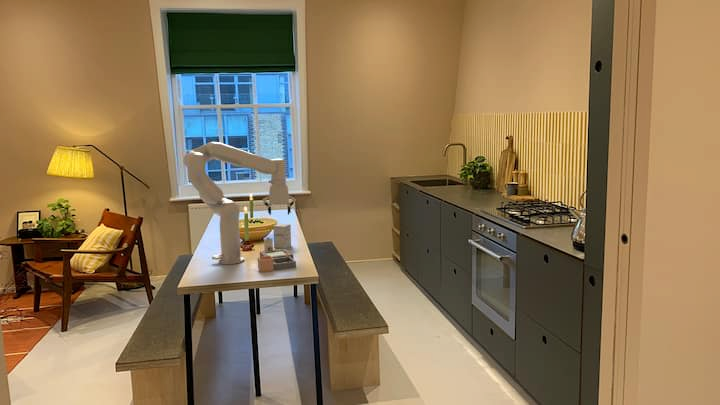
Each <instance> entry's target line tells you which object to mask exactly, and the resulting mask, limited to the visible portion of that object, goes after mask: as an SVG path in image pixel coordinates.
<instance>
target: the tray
mask: <svg viewBox="0 0 720 405" xmlns="http://www.w3.org/2000/svg"><path fill="white" fill-rule="evenodd" d="M273 261H274V270H273V271H279V270H287V269H294V268H295V269H296V268H297V261H296V260H295V258H294V259H292V258H291V257H290V256H289V257H281V258H273Z"/></svg>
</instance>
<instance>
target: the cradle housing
mask: <svg viewBox="0 0 720 405" xmlns="http://www.w3.org/2000/svg"><path fill="white" fill-rule="evenodd" d="M279 251H283V252H284V253H285V255H277V256H271V257H272V258H281V257H289V256H290V257H291V258H292V259H294V260H295V258H294V254H293V253H292V252H291V251H290V250H288V248H278V249H273V250H270V251H265V250H262V251H259V257H263V256H269V255H267V254H266V253H271V252H279Z"/></svg>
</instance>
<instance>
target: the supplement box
mask: <svg viewBox="0 0 720 405" xmlns="http://www.w3.org/2000/svg"><path fill="white" fill-rule="evenodd" d="M272 228H273V229H272V230H273V249H276V248H278V249H288V248H289V247H292V232H291V230H292V228H291V223H277V224H275V225H273V227H272Z"/></svg>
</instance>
